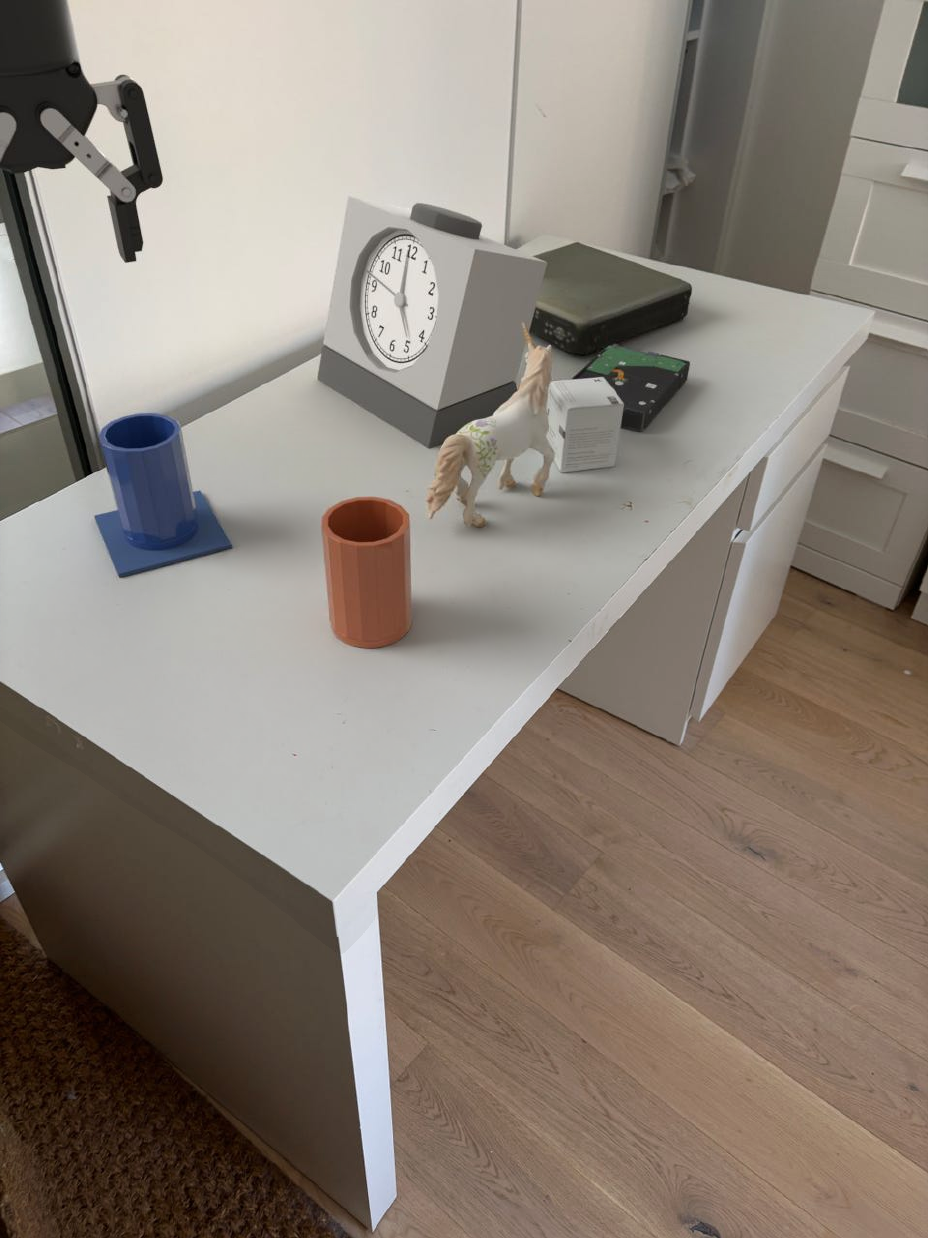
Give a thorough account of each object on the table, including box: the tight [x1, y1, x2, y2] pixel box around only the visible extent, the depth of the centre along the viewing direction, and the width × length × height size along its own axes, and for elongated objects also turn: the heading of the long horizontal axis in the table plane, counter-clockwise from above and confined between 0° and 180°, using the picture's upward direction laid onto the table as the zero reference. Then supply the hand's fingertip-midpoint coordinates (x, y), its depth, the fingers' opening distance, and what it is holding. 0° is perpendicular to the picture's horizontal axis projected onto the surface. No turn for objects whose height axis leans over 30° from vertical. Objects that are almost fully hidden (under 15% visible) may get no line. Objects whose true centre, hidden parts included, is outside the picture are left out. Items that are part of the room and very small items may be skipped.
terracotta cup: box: [320, 496, 413, 649], centre depth 76 cm, size 7×7×10 cm
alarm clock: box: [316, 195, 547, 449], centre depth 104 cm, size 20×16×20 cm
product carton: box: [546, 377, 624, 473], centre depth 98 cm, size 6×6×7 cm
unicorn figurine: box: [425, 322, 555, 528], centre depth 90 cm, size 7×20×13 cm, turn 151°
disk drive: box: [570, 343, 691, 432], centre depth 110 cm, size 10×3×15 cm
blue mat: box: [93, 490, 233, 578], centre depth 88 cm, size 10×10×1 cm
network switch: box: [529, 241, 693, 356], centre depth 127 cm, size 23×24×5 cm
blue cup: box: [98, 412, 198, 550], centre depth 85 cm, size 7×7×10 cm
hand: (61, 268), depth 62 cm, fingers open, 8 cm apart
